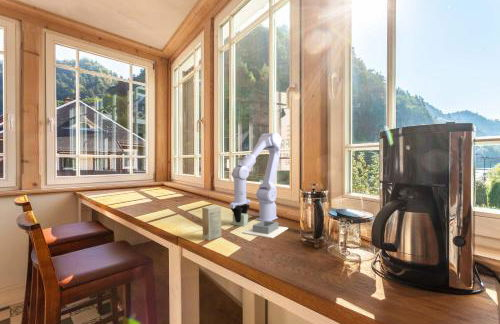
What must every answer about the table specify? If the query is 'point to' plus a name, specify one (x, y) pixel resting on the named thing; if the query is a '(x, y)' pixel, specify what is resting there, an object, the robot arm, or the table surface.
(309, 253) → the table surface
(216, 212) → the skincare box
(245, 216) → the key block
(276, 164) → the robot arm
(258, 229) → the slot holder
